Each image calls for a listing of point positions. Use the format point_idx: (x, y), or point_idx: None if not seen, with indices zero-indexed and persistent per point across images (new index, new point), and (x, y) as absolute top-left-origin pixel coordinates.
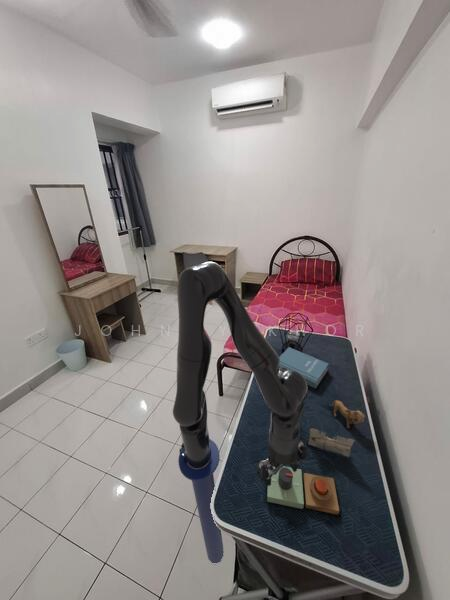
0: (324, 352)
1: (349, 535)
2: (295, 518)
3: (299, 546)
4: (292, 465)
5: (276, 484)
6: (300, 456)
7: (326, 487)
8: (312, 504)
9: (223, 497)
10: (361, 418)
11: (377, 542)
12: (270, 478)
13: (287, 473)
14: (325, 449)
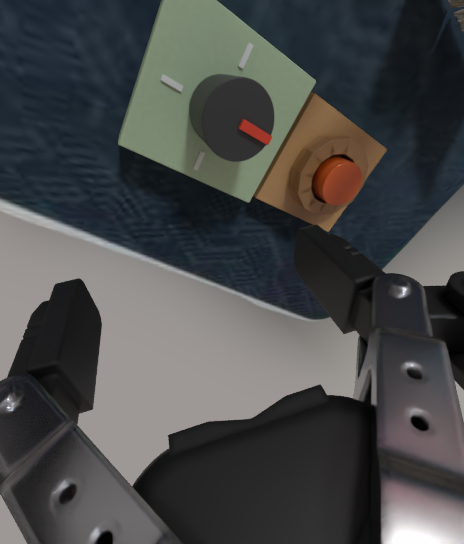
0: None
1: None
2: (203, 207)
3: (185, 261)
4: (316, 273)
5: (177, 107)
6: (448, 350)
7: (350, 195)
8: (273, 202)
9: None
10: None
11: None
12: (83, 409)
13: (249, 122)
14: (458, 15)
